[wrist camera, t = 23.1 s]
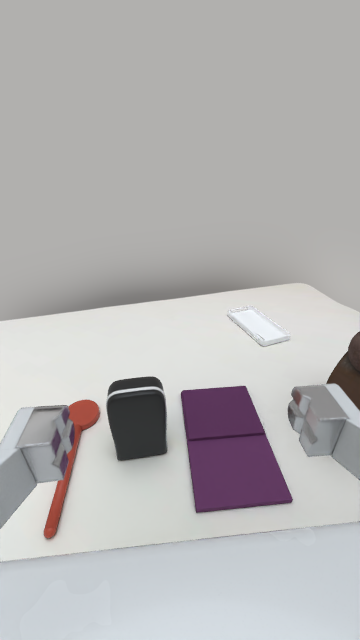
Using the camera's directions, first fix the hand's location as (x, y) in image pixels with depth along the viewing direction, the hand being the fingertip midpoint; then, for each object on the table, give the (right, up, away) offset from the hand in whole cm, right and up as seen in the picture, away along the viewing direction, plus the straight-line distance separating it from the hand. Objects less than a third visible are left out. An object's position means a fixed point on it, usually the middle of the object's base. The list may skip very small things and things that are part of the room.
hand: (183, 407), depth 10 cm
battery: (-5, -14, +28) cm, 32 cm away
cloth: (+6, -14, +29) cm, 33 cm away
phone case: (+18, +2, +55) cm, 58 cm away
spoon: (-15, -15, +28) cm, 34 cm away
